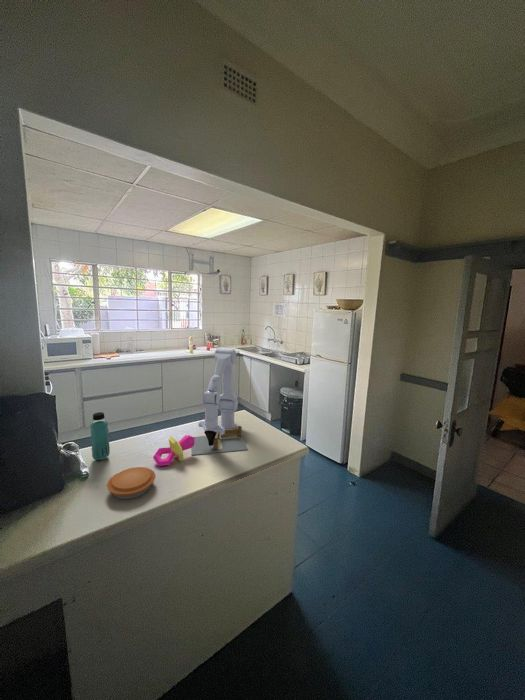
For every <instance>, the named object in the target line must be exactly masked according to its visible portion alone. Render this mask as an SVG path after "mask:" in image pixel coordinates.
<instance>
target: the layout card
mask: <svg viewBox="0 0 525 700" xmlns="http://www.w3.org/2000/svg"><path fill="white" fill-rule="evenodd" d="M193 437H194V438H195V441H194V446H193V447H192V448H190V449H191V456H200V455H213V454H221V453H230V452H232V453H233V452H241V451H242V452H243V451H248V450H249V449H248V446H247V443H246V441H245V440H244V437H243V434H242V433H241V437H238V436H233V437H222V438H221V437H220V438H219V439H218V449H217V450H214V449H213V445H212V446H209V444H208V439H207V436H206V435H202V436H193Z"/></svg>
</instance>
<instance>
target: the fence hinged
mask: <svg viewBox="0 0 525 700" xmlns="http://www.w3.org/2000/svg"><path fill="white" fill-rule="evenodd" d="M213 449H214V450H217V449H218V433H217V434H216V436H215V438H214V439H213Z"/></svg>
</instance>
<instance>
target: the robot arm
mask: <svg viewBox="0 0 525 700" xmlns="http://www.w3.org/2000/svg"><path fill="white" fill-rule="evenodd" d="M214 360H215V363H216V364H215V367H214V374H213V376H211V377H210V380H209V381H208V382H209V383H208V386H207V389H206V391H204V393H203V396H202V402H203V407H204V421H200V422H198V427H199V428H203V431H204V436H207V439H208V444H209V446H212V445H213V439H214V438H215V436H216V434H217V433H220V435H223V434H225V429H237V426H236V424H235V412H236V411H237V410H238V407H239V406H238V404H239V402H238V396H237V395H236V394H235V393H233V365H234V364H236V363H237V351H236V350H235V349H234V348H233V349H229V348H228V349H226V348H216V349H215V351H214ZM222 377H223V378H222ZM221 389H222V393H221ZM219 412H220V421H219V418H218V417H219ZM218 422H219V423H218Z"/></svg>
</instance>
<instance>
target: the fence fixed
mask: <svg viewBox="0 0 525 700" xmlns="http://www.w3.org/2000/svg"><path fill="white" fill-rule="evenodd" d="M224 430H225V434H223V435H220V433H218V439H219V438H220V437H221V438H222V437H233V436H238V437H241V434H242V426H241V425H238V426H237V428H233V429H224Z"/></svg>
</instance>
